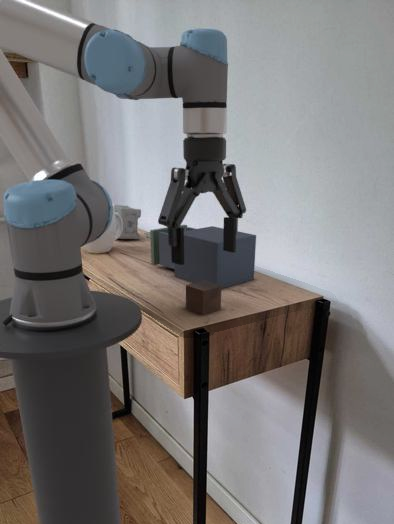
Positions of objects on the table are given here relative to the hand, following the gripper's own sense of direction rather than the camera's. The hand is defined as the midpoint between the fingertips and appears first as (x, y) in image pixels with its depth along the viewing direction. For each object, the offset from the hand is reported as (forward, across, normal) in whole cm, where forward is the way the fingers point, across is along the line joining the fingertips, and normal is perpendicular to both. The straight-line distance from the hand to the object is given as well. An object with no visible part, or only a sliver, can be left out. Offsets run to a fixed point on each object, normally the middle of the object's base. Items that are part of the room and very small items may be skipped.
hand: (204, 257), depth 93 cm
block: (+10, 0, 0) cm, 11 cm away
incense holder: (+10, -27, -66) cm, 72 cm away
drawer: (+9, -17, -28) cm, 34 cm away
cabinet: (+10, -17, -14) cm, 24 cm away
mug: (+10, -12, -57) cm, 59 cm away
